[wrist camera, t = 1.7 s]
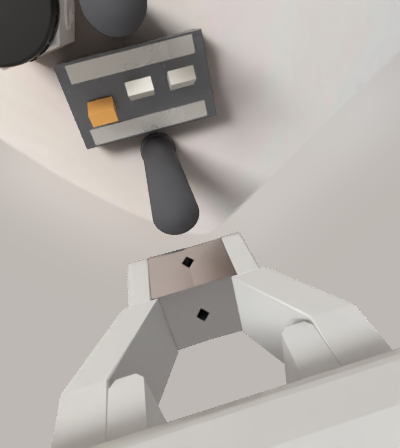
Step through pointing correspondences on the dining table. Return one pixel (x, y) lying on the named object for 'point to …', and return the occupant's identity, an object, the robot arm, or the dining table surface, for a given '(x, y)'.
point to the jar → (34, 29)
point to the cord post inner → (114, 15)
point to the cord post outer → (168, 186)
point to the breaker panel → (132, 70)
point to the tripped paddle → (102, 111)
